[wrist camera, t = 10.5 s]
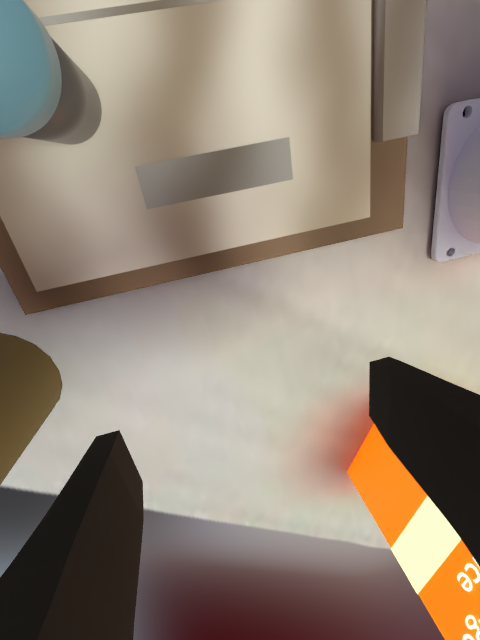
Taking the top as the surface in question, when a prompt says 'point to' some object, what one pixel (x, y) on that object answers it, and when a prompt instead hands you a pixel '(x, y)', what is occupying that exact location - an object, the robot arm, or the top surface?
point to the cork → (23, 396)
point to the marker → (41, 83)
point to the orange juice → (420, 539)
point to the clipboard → (212, 140)
